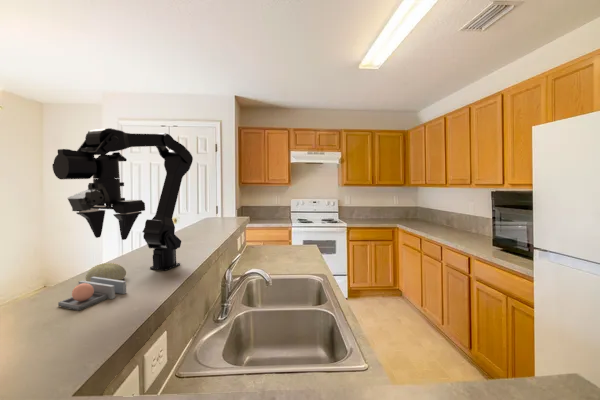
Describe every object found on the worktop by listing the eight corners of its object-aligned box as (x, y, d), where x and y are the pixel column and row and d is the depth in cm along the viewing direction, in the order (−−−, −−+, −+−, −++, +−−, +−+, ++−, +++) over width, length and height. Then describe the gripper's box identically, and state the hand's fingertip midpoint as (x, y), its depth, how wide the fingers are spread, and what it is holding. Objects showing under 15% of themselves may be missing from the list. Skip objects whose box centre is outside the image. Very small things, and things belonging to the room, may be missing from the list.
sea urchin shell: (109, 282, 73) (89, 259, 74) (92, 301, 75) (73, 279, 75) (136, 270, 82) (118, 250, 83) (120, 288, 84) (103, 268, 84)
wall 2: (94, 287, 74) (93, 276, 74) (126, 292, 71) (125, 281, 70) (91, 288, 73) (90, 277, 73) (123, 294, 70) (122, 282, 70)
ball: (68, 303, 64) (66, 286, 64) (86, 296, 68) (85, 280, 67) (80, 305, 63) (79, 287, 62) (98, 298, 67) (97, 281, 66)
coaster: (87, 295, 69) (87, 291, 69) (107, 298, 67) (106, 294, 67) (58, 306, 63) (58, 302, 63) (78, 310, 61) (78, 306, 61)
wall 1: (82, 292, 71) (81, 280, 71) (115, 297, 68) (114, 285, 68) (79, 293, 70) (78, 281, 70) (112, 299, 67) (111, 286, 67)
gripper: (45, 179, 68) (51, 243, 69) (103, 179, 62) (108, 248, 64) (92, 178, 79) (96, 234, 80) (145, 178, 73) (148, 238, 74)
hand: (110, 238), depth 74 cm, fingers open, 9 cm apart
